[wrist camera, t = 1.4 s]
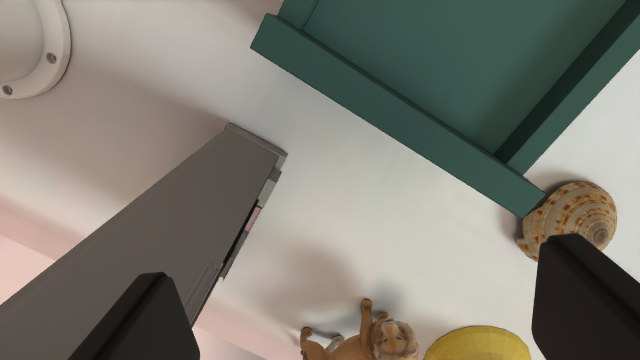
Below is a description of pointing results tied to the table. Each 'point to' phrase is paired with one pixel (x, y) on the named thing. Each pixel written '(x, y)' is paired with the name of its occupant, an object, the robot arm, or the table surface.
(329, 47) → the sofa
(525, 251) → the seashell
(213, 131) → the table surface
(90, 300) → the tall grey pillar
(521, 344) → the handbell
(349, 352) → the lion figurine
